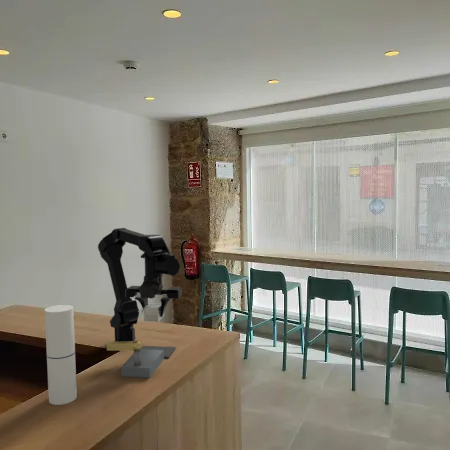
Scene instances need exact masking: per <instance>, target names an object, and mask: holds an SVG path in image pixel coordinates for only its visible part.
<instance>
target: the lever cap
mask: <svg viewBox="0 0 450 450" xmlns="http://www.w3.org/2000/svg"><path fill="white" fill-rule="evenodd" d="M163 317H165V313H164V314H163ZM163 317H161V302H148V305H147V306H146V307H144V310H143V321H144V322H155V323H156V322H157V323H158V322H159V321H160V320H162V319H163Z"/></svg>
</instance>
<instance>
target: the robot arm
mask: <svg viewBox="0 0 450 450" xmlns="http://www.w3.org/2000/svg"><path fill="white" fill-rule="evenodd" d="M126 243H127V244H132V245H134V246H137V247H138V249H139V250H140V251H141V252H143V253H142V254H141V255H140V259H144V276H143V281H142V283H141V285H131V286H128V285H127V281H126V277H125V274H124V273H125V272H124V268H123V265H122V261H121V260H122V256H123V253H124V251H123V248H124V246H125V245H126ZM97 249H98V252H99V254H100V257H101V259H102V260H103V261H105V263H107V268H108V272H109V277H110V280H111V285H112V288H113V294H114V296H115V299H116V301H115V304H114V307H113V312H114V315H113V316H112V317H111V318H110V320H109V324H110V327H111V328H113V329H114V341H136V328H135V327H134V325H136V324H138V320H139V316H140V309H139V307H138V302H139V303H140V304H139V305H141V308H142V309H143V311H144V307H146V306H147V305H148V304H149V299H154V298H155V297H156V296H162V297H161V298H160V303H161V317H163V314H164V315H165V311H166V308H167V307H168V304H169V301H170V300H172V299H175V300H177V299H179V298H180V297H181V296H182V295H183V289H182V287H180V286H170V287H169V288H168V289H167V288H165V289H164V284H163V276H164V275H167V276H172V277H173V276H176V275H178V273H179V271H180V268H181V267H180V266H181V264H180V262H179V260H178V259H177V258H176V255H175V254H173V253H172V254H171V251H170V249H169V248H168V246H167V243H166V241H165V240H164V237H163V236H162V235H161V234H143V233H140V232H137V231H133V230H131V229H127V228H126V227H120V228H114V229H113V230H112V231H111V232H110V233H109V234H107V235H105V236H104V237H103V238H102V239H101V240H100V241H99V242H98V245H97ZM132 298H134V300H133V299H132ZM137 301H138V302H137Z"/></svg>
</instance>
